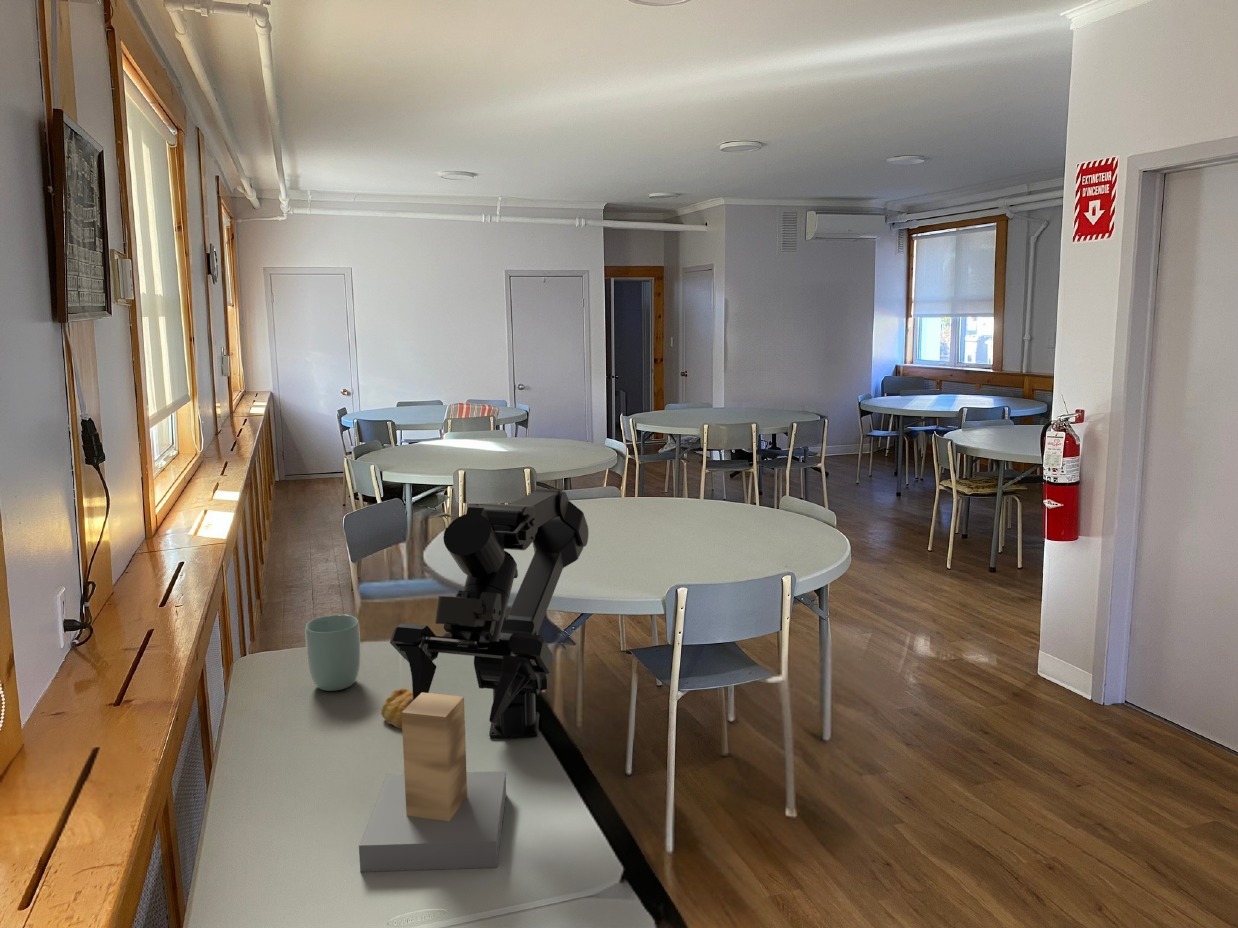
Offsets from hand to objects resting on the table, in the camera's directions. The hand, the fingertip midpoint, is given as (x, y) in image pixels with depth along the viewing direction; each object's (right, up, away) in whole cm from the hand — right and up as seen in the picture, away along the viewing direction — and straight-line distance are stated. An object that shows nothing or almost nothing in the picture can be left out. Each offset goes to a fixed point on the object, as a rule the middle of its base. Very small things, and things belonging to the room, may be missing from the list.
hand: (453, 718), depth 104 cm
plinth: (-1, -12, -3) cm, 12 cm away
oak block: (-1, -9, -3) cm, 9 cm away
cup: (-24, -5, +34) cm, 42 cm away
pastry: (-10, -7, +24) cm, 27 cm away
